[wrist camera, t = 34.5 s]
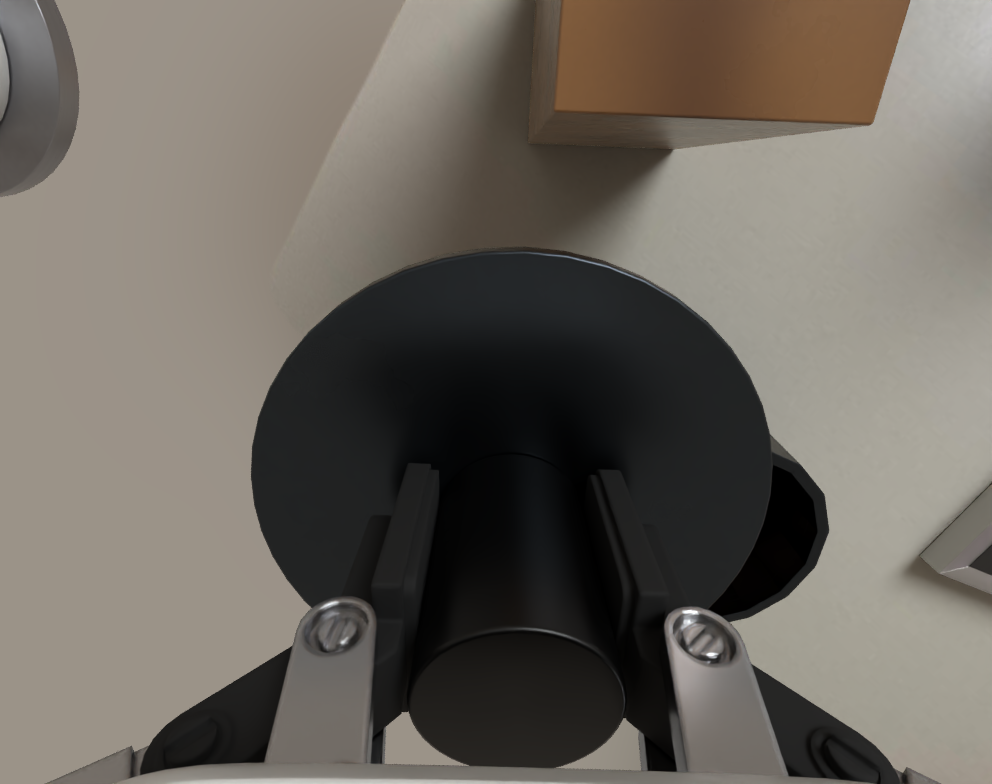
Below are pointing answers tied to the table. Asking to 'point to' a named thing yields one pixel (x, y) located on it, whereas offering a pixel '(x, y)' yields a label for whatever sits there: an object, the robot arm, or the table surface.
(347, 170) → the table surface
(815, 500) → the trash can
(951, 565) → the picture frame
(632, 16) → the wooden block
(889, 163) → the table surface
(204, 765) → the robot arm
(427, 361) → the bin lid
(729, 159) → the table surface
